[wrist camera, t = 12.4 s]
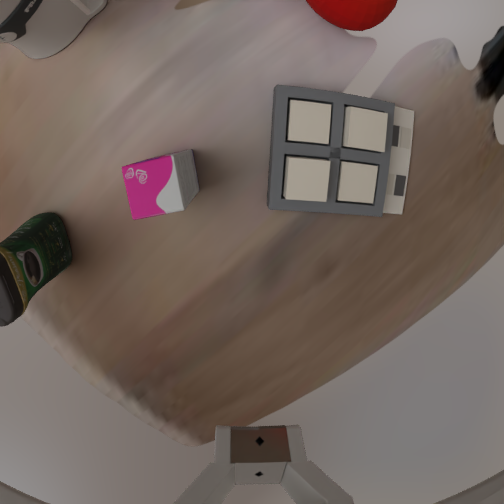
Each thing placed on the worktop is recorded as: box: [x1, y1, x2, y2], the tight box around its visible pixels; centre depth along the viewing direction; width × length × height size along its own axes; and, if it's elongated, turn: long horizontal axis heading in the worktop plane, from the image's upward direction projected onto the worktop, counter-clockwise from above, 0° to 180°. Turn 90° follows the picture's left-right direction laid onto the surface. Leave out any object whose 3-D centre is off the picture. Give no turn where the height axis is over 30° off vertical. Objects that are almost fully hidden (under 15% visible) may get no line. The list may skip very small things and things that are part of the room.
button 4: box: [285, 100, 331, 144], centre depth 36 cm, size 5×5×2 cm
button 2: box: [342, 107, 388, 152], centre depth 35 cm, size 5×5×2 cm
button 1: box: [336, 160, 378, 203], centre depth 39 cm, size 5×5×2 cm
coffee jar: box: [0, 213, 72, 326], centre depth 33 cm, size 10×8×19 cm
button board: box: [267, 85, 414, 217], centre depth 38 cm, size 16×20×3 cm
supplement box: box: [122, 150, 200, 220], centre depth 34 cm, size 6×6×12 cm
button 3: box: [283, 156, 331, 202], centre depth 37 cm, size 5×5×2 cm
